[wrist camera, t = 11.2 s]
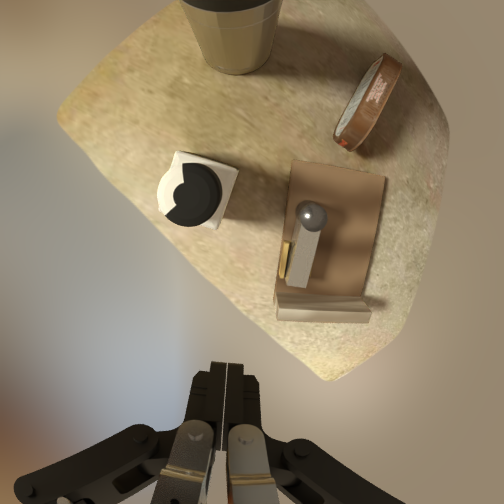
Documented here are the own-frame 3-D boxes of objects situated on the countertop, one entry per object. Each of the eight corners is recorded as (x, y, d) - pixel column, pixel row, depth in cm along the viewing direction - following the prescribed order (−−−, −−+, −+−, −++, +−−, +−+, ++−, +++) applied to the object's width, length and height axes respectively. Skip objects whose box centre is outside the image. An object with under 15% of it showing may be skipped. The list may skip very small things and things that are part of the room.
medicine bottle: (240, 168, 35) (236, 170, 24) (222, 218, 37) (211, 244, 26) (188, 151, 34) (162, 147, 23) (172, 202, 36) (141, 221, 25)
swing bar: (298, 197, 35) (304, 202, 31) (321, 202, 35) (330, 208, 31) (281, 274, 38) (284, 287, 34) (303, 277, 38) (309, 290, 34)
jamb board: (291, 159, 35) (300, 159, 29) (381, 176, 35) (402, 179, 30) (273, 299, 41) (277, 320, 35) (354, 303, 42) (368, 323, 36)
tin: (341, 153, 35) (366, 152, 27) (322, 141, 34) (343, 136, 26) (384, 73, 31) (413, 58, 23) (366, 61, 30) (392, 42, 22)
